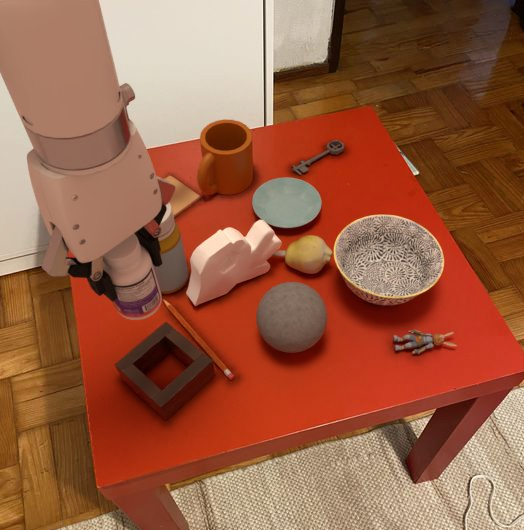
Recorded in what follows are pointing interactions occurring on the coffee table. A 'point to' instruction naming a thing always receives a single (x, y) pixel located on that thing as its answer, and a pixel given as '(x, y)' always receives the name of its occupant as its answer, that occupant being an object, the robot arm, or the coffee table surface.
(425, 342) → the figurine
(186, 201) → the coaster
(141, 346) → the holder
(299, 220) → the saucer
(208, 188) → the mug
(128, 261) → the pill bottle
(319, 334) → the decorative ball
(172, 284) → the bottle
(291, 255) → the fruit
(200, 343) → the pencil
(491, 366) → the coffee table surface
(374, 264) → the bowl
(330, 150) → the key
